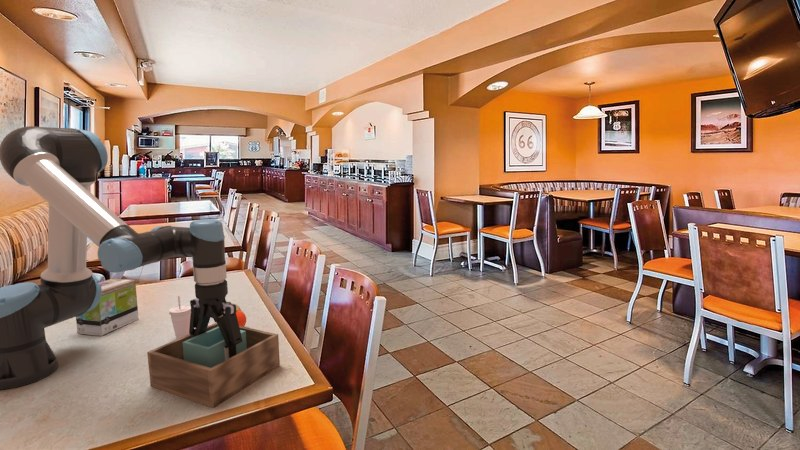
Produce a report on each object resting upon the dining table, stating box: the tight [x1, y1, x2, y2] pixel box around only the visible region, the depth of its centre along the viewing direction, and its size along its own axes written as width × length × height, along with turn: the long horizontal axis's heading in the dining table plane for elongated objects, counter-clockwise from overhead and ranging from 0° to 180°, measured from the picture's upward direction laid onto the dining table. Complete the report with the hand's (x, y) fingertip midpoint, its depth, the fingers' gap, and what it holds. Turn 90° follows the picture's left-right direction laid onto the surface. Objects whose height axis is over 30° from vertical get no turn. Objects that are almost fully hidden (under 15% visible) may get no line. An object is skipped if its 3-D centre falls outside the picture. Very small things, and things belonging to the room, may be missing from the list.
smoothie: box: [168, 295, 191, 340], centre depth 134 cm, size 6×6×14 cm
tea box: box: [75, 278, 139, 337], centre depth 143 cm, size 15×10×15 cm
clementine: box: [236, 309, 247, 327], centre depth 141 cm, size 8×7×7 cm
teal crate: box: [182, 326, 247, 368], centre depth 111 cm, size 12×9×8 cm
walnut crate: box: [146, 322, 281, 409], centre depth 111 cm, size 22×22×9 cm
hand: (217, 364), depth 111 cm, fingers closed on teal crate, 9 cm apart
